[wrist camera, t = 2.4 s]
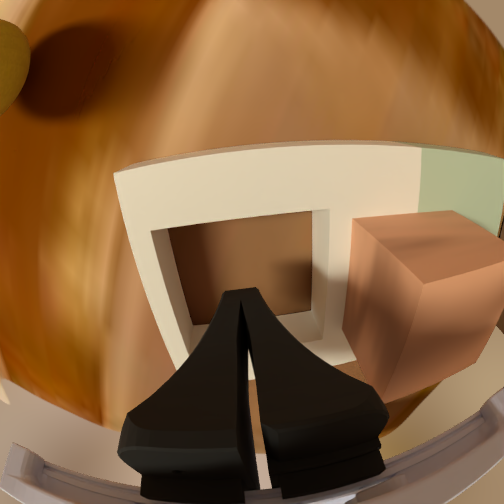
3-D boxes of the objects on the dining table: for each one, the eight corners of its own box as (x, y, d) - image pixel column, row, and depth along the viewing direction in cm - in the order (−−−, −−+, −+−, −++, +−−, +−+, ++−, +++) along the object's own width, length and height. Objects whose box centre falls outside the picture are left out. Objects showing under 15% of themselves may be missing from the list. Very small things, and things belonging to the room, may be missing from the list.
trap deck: (451, 303, 17) (468, 321, 15) (186, 354, 16) (183, 384, 14) (481, 151, 12) (507, 160, 10) (134, 163, 11) (113, 173, 9)
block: (429, 306, 13) (475, 362, 9) (341, 329, 13) (378, 406, 9) (452, 210, 11) (523, 254, 6) (352, 218, 11) (423, 284, 6)
